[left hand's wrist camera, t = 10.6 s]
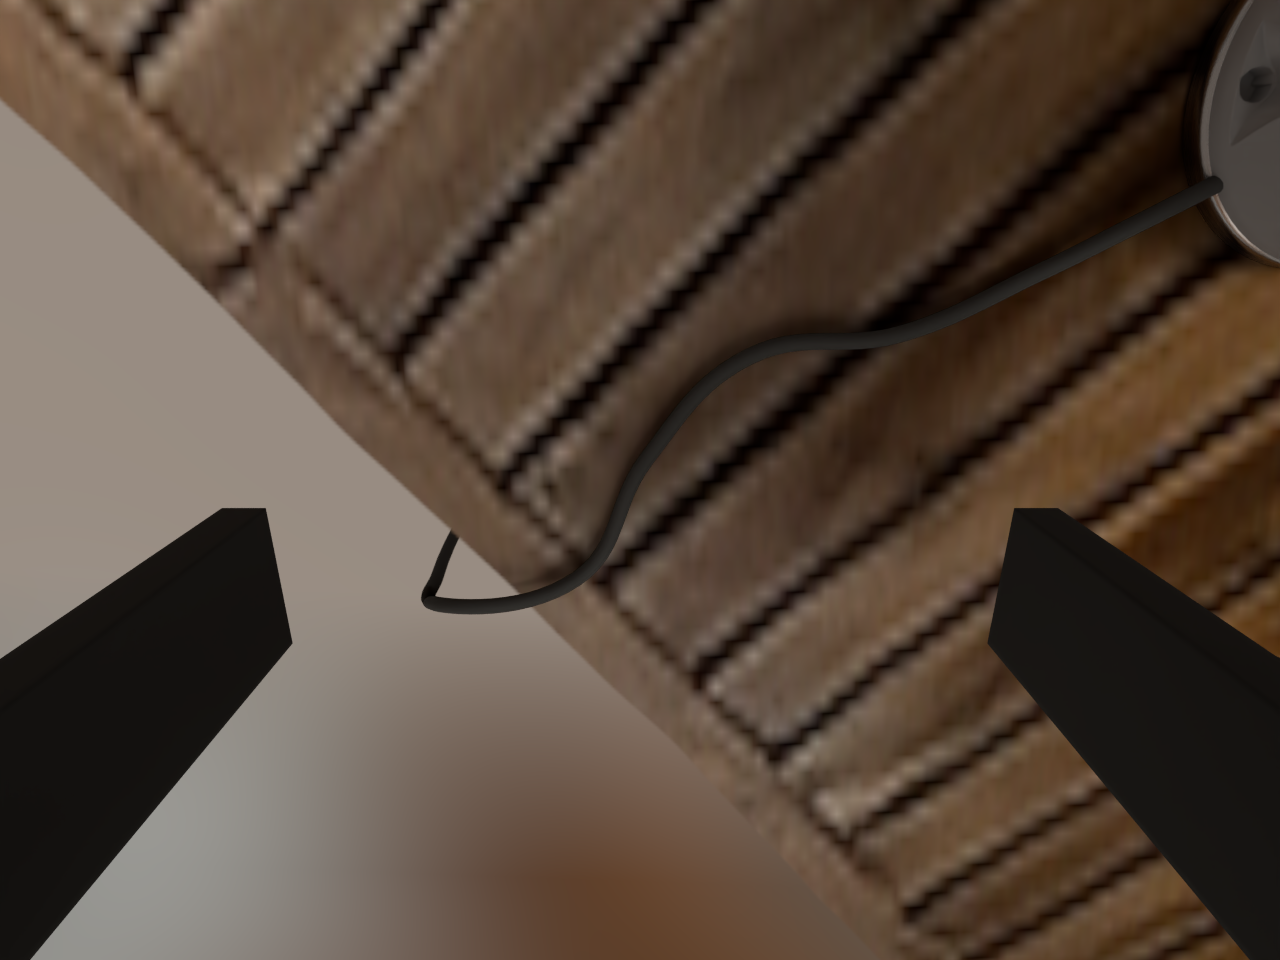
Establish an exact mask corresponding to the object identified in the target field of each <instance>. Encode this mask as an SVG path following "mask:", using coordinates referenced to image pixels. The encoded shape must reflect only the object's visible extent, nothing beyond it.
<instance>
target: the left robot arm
mask: <svg viewBox="0 0 1280 960" xmlns="http://www.w3.org/2000/svg"><path fill="white" fill-rule="evenodd" d="M1183 153H1184V164H1185V170H1186V175H1187V180H1188V184H1189V188H1187V189H1185V190H1183V191H1181V192H1179V193H1177V194H1175V195H1173V196H1171V197H1169V198H1167V199H1165V200H1163V201H1161V202H1159V203H1158V204H1156V205H1154V206H1152V207H1150V208H1148V209H1146V210H1144V211H1142V212H1140V213H1138V214H1136V215H1134V216H1132V217H1130V218H1128V219H1126V220H1124V221H1122V222H1120V223H1118V224H1116V225H1114V226H1112V227H1110V228H1108V229H1106V230H1104V231H1102V232H1100V233H1098V234H1097V235H1095V236H1093V237H1091V238H1089V239H1087V240H1085V241H1083V242H1081V243H1079V244H1077V245H1075V246H1073V247H1071V248H1069V249H1067V250H1065V251H1063V252H1061V253H1059V254H1057V255H1055V256H1053V257H1051V258H1049V259H1047V260H1044V261H1042V262H1040V263H1038V264H1036V265H1034V266H1032V267H1030V268H1028V269H1026V270H1024V271H1022V272H1020V273H1018V274H1016V275H1014V276H1012V277H1010V278H1008V279H1006V280H1004V281H1002V282H1000V283H998V284H996V285H994V286H992V287H990V288H988V289H986V290H984V291H982V292H980V293H978V294H976V295H974V296H972V297H970V298H968V299H966V300H964V301H962V302H960V303H958V304H956V305H954V306H951V307H949V308H947V309H944V310H942V311H940V312H937V313H935V314H932V315H930V316H927V317H924V318H921V319H919V320H916V321H913V322H910V323H907V324H903V325H900V326H896V327H892V328H888V329H884V330H878V331H871V332H860V333H810V334H797V335H789V336H783V337H779V338H774V339H771V340H767V341H764V342H761V343H758V344H756V345H754V346H752V347H750V348H747V349H745V350H743V351H741V352H740V353H738V354H736V355H734V356H732V357H731V358H729V359H728V360H726V361H725V362H723V363H721V364H720V365H719V366H717V367H716V368H715V369H713V370H712V371H711V372H709V373H708V374H707V375H706V376H705V377H704V378H702V379H701V380H700V381H699V382H698V383H697V384H696V385H695V386H694V387H693V388H692V389H691V390H690V391H689V392H688V393H687V395H686V396H685V397H684V398H683V399H682V400H681V402H680V403H679V404H678V405H677V406H676V408H675V409H674V410H673V411H672V413H671V414H670V415H669V417H668V418H667V419H666V421H665V422H664V423H663V425H662V426H661V427H660V429H659V430H658V432H657V433H656V434H655V436H654V437H653V438H652V440H651V441H650V442H649V444H648V445H647V446H646V448H645V449H644V450H643V452H642V453H641V454H640V456H639V457H638V459H637V460H636V462H635V463H634V465H633V466H632V468H631V470H630V472H629V473H628V475H627V477H626V479H625V481H624V483H623V485H622V488H621V490H620V493H619V495H618V498H617V500H616V503H615V506H614V508H613V511H612V514H611V517H610V520H609V522H608V525H607V527H606V530H605V532H604V535H603V537H602V539H601V541H600V543H599V544H598V546H597V548H596V550H595V551H594V552H593V554H592V555H591V556H590V558H589V559H588V560H587V561H586V562H585V563H584V564H583V565H582V566H580V567H579V568H578V569H577V570H575V571H574V572H573V573H571V574H570V575H568V576H566V577H565V578H563V579H561V580H559V581H557V582H555V583H553V584H551V585H548V586H546V587H543V588H541V589H538V590H535V591H531V592H528V593H524V594H519V595H514V596H508V597H502V598H492V599H452V598H442V597H436V593H437V591H438V590H439V588H440V586H441V584H442V581H443V578H444V575H445V572H446V569H447V566H448V563H449V560H450V558H451V555H452V553H453V550H454V548H455V546H456V544H457V542H458V539H459V537H458V536H457V535H456V534H454V532H453V531H451V530H450V532H449V534H448V536H447V538H446V540H445V542H444V544H443V546H442V548H441V551H440V553H439V555H438V557H437V560H436V563H435V565H434V568H433V571H432V574H431V576H430V578H429V580H428V582H427V583H426V585H425V587H424V589H423V591H422V595H421V601H422V603H423V605H424V606H425V607H426V608H428V609H430V610H433V611H437V612H443V613H452V614H492V613H501V612H509V611H515V610H520V609H525V608H529V607H533V606H536V605H539V604H543V603H545V602H548V601H551V600H553V599H556V598H558V597H560V596H562V595H564V594H566V593H568V592H570V591H572V590H573V589H575V588H576V587H578V586H580V585H581V584H582V583H584V582H585V581H586V580H588V579H589V578H590V577H591V576H592V575H593V574H594V573H595V572H596V571H597V570H598V569H599V568H600V567H601V566H602V565H603V563H604V562H605V561H606V559H607V558H608V556H609V554H610V553H611V551H612V549H613V547H614V545H615V543H616V541H617V539H618V537H619V534H620V532H621V529H622V526H623V524H624V521H625V518H626V516H627V513H628V510H629V507H630V505H631V502H632V500H633V497H634V495H635V493H636V491H637V489H638V487H639V485H640V483H641V481H642V479H643V478H644V476H645V474H646V473H647V471H648V470H649V468H650V467H651V466H652V464H653V463H654V461H655V460H656V459H657V457H658V456H659V455H660V454H661V452H662V451H663V450H664V448H665V447H666V446H667V444H668V443H669V442H670V440H671V439H672V437H673V436H674V435H675V433H676V432H677V431H678V429H679V428H680V427H681V426H682V424H683V423H684V422H685V420H686V419H687V418H688V417H689V415H690V414H691V413H692V412H693V411H694V409H695V408H696V407H697V406H698V405H699V404H700V403H701V402H702V401H703V400H704V399H705V398H706V397H707V396H708V395H709V394H710V393H711V392H712V391H713V390H714V389H715V388H717V387H718V386H719V385H720V384H722V383H723V382H724V381H726V380H727V379H728V378H730V377H731V376H733V375H734V374H736V373H737V372H739V371H741V370H743V369H744V368H746V367H748V366H750V365H752V364H754V363H756V362H758V361H761V360H763V359H765V358H768V357H771V356H774V355H778V354H782V353H787V352H794V351H802V350H849V349H867V348H876V347H882V346H888V345H893V344H897V343H901V342H905V341H908V340H911V339H914V338H917V337H920V336H923V335H926V334H929V333H932V332H934V331H937V330H940V329H942V328H945V327H947V326H950V325H952V324H954V323H957V322H959V321H961V320H963V319H966V318H968V317H970V316H972V315H974V314H976V313H978V312H980V311H982V310H984V309H986V308H988V307H990V306H992V305H994V304H996V303H998V302H1000V301H1002V300H1004V299H1006V298H1008V297H1010V296H1012V295H1014V294H1016V293H1018V292H1020V291H1022V290H1024V289H1026V288H1028V287H1030V286H1032V285H1034V284H1036V283H1038V282H1040V281H1042V280H1044V279H1047V278H1049V277H1051V276H1053V275H1055V274H1057V273H1059V272H1061V271H1063V270H1065V269H1068V268H1070V267H1072V266H1074V265H1076V264H1078V263H1080V262H1082V261H1084V260H1086V259H1088V258H1090V257H1092V256H1094V255H1096V254H1098V253H1100V252H1102V251H1104V250H1106V249H1108V248H1110V247H1112V246H1114V245H1116V244H1118V243H1120V242H1122V241H1124V240H1126V239H1128V238H1130V237H1132V236H1134V235H1136V234H1138V233H1140V232H1142V231H1144V230H1146V229H1148V228H1150V227H1152V226H1154V225H1156V224H1158V223H1160V222H1162V221H1164V220H1166V219H1168V218H1170V217H1172V216H1174V215H1176V214H1178V213H1180V212H1182V211H1184V210H1186V209H1188V208H1190V207H1192V206H1194V205H1197V208H1198V210H1199V211H1200V213H1201V215H1202V216H1203V218H1204V220H1205V221H1206V223H1207V224H1208V225H1209V226H1210V228H1211V229H1212V230H1213V232H1214V233H1215V234H1216V235H1217V236H1218V237H1219V238H1220V239H1221V240H1222V241H1223V242H1224V243H1226V244H1227V245H1228V246H1230V247H1231V248H1232V249H1234V250H1235V251H1237V252H1239V253H1240V254H1242V255H1244V256H1246V257H1247V258H1250V259H1252V260H1255V261H1257V262H1259V263H1263V264H1266V265H1270V266H1274V267H1279V268H1280V0H1232V1H1231V2H1230V4H1229V5H1228V7H1227V8H1226V10H1225V11H1224V13H1223V14H1222V16H1221V18H1220V19H1219V21H1218V23H1217V25H1216V26H1215V28H1214V30H1213V32H1212V34H1211V36H1210V37H1209V40H1208V42H1207V44H1206V46H1205V48H1204V51H1203V53H1202V55H1201V57H1200V60H1199V63H1198V66H1197V68H1196V71H1195V74H1194V77H1193V80H1192V84H1191V88H1190V91H1189V95H1188V100H1187V106H1186V111H1185V119H1184V129H1183ZM291 644H292V638H291V633H290V628H289V623H288V618H287V613H286V608H285V603H284V598H283V593H282V588H281V583H280V578H279V573H278V568H277V563H276V558H275V553H274V548H273V542H272V537H271V532H270V527H269V522H268V517H267V512H266V508H222V509H220V510H219V511H217V512H216V513H214V514H213V515H211V516H210V517H208V518H207V519H205V520H204V521H202V522H201V523H200V524H198V525H197V526H195V527H194V528H192V529H191V530H189V531H188V532H186V533H185V534H183V535H182V536H180V537H179V538H178V539H176V540H175V541H173V542H172V543H170V544H169V545H167V546H166V547H164V548H163V549H161V550H160V551H158V552H157V553H155V554H154V555H153V556H151V557H149V558H148V559H147V560H145V561H144V562H142V563H141V564H139V565H138V566H136V567H135V568H133V569H132V570H130V571H129V572H127V573H126V574H124V575H123V576H122V577H120V578H119V579H117V580H116V581H114V582H113V583H111V584H110V585H108V586H107V587H105V588H104V589H102V590H101V591H99V592H98V593H97V594H95V595H94V596H92V597H91V598H89V599H88V600H86V601H85V602H83V603H82V604H80V605H79V606H77V607H76V608H74V609H73V610H72V611H70V612H69V613H67V614H66V615H64V616H63V617H61V618H60V619H58V620H57V621H55V622H54V623H52V624H51V625H49V626H48V627H46V628H45V629H44V630H42V631H41V632H39V633H38V634H36V635H35V636H33V637H32V638H30V639H29V640H27V641H26V642H24V643H23V644H21V645H20V646H19V647H17V648H16V649H14V650H13V651H11V652H10V653H8V654H7V655H5V656H4V657H2V658H1V659H0V960H30V959H31V958H32V957H33V956H34V954H35V953H36V952H37V951H38V950H39V948H40V947H41V946H42V945H43V944H44V942H45V941H46V940H47V939H48V938H49V936H50V935H51V934H52V933H53V931H54V930H55V929H56V928H57V927H58V926H59V924H60V923H61V922H62V921H63V920H64V918H65V917H66V916H67V915H68V913H69V912H70V911H71V910H72V909H73V907H74V906H75V905H76V904H77V903H78V901H79V900H80V899H81V898H82V897H83V895H84V894H85V893H86V892H87V890H88V889H89V888H90V887H91V886H92V884H93V883H94V882H95V881H96V880H97V879H98V877H99V876H100V875H101V874H102V872H103V871H104V870H105V869H106V868H107V866H108V865H109V864H110V863H111V862H112V860H113V859H114V858H115V857H116V856H117V854H118V853H119V852H120V851H121V850H122V848H123V847H124V846H125V845H126V843H127V842H128V841H129V840H130V839H131V838H132V836H133V835H134V834H135V833H136V831H137V830H138V829H139V828H140V827H141V825H142V824H143V823H144V822H145V821H146V819H147V818H148V817H149V816H150V815H151V813H152V812H153V811H154V810H155V809H156V807H157V806H158V805H159V804H160V802H161V801H162V800H163V799H164V798H165V796H166V795H167V794H168V793H169V792H170V790H171V789H172V788H173V787H174V786H175V784H176V783H177V782H178V781H179V780H180V778H181V777H182V776H183V775H184V774H185V772H186V771H187V770H188V769H189V768H190V766H191V765H192V764H193V763H194V762H195V760H196V759H197V758H198V757H199V755H200V754H201V753H202V752H203V751H204V749H205V748H206V747H207V746H208V745H209V743H210V742H211V741H212V740H213V739H214V737H215V736H216V735H217V734H218V733H219V731H220V730H221V729H222V728H223V727H224V725H225V724H226V723H227V722H228V721H229V719H230V718H231V717H232V716H233V714H234V713H235V712H236V711H237V710H238V708H239V707H240V706H241V705H242V704H243V702H244V701H245V700H246V699H247V698H248V696H249V695H250V694H251V693H252V692H253V690H254V689H255V688H256V687H257V686H258V684H259V683H260V682H261V681H262V679H263V678H264V677H265V676H266V675H267V673H268V672H269V671H270V670H271V669H272V667H273V666H274V665H275V664H276V663H277V661H278V660H279V659H280V658H281V657H282V655H283V654H284V653H285V652H286V651H287V649H288V648H289V647H290V646H291ZM988 645H989V646H990V647H991V648H992V649H993V651H994V652H995V653H996V654H997V655H998V657H999V658H1000V659H1001V660H1002V661H1003V663H1004V664H1005V665H1006V666H1007V667H1008V669H1009V670H1010V671H1011V672H1012V673H1013V675H1014V676H1015V677H1016V678H1017V680H1018V681H1019V682H1020V683H1021V684H1022V686H1023V687H1024V688H1025V689H1026V690H1027V692H1028V693H1029V694H1030V695H1031V696H1032V698H1033V699H1034V700H1035V701H1036V702H1037V704H1038V705H1039V706H1040V707H1041V708H1042V710H1043V711H1044V712H1045V713H1046V714H1047V716H1048V717H1049V718H1050V719H1051V721H1052V722H1053V723H1054V724H1055V725H1056V727H1057V728H1058V729H1059V730H1060V731H1061V733H1062V734H1063V735H1064V736H1065V737H1066V739H1067V740H1068V741H1069V742H1070V743H1071V745H1072V746H1073V747H1074V748H1075V749H1076V751H1077V752H1078V753H1079V754H1080V755H1081V757H1082V758H1083V759H1084V760H1085V762H1086V763H1087V764H1088V765H1089V766H1090V768H1091V769H1092V770H1093V771H1094V772H1095V774H1096V775H1097V776H1098V777H1099V778H1100V780H1101V781H1102V782H1103V783H1104V784H1105V786H1106V787H1107V788H1108V789H1109V790H1110V792H1111V793H1112V794H1113V795H1114V797H1115V798H1116V799H1117V800H1118V801H1119V803H1120V804H1121V805H1122V806H1123V807H1124V809H1125V810H1126V811H1127V812H1128V813H1129V815H1130V816H1131V817H1132V818H1133V819H1134V821H1135V822H1136V823H1137V824H1138V825H1139V827H1140V828H1141V829H1142V830H1143V831H1144V833H1145V834H1146V835H1147V836H1148V838H1149V839H1150V840H1151V841H1152V842H1153V844H1154V845H1155V846H1156V847H1157V848H1158V850H1159V851H1160V852H1161V853H1162V854H1163V856H1164V857H1165V858H1166V859H1167V860H1168V862H1169V863H1170V864H1171V865H1172V866H1173V868H1174V869H1175V870H1176V871H1177V872H1178V874H1179V875H1180V876H1181V877H1182V879H1183V880H1184V881H1185V882H1186V883H1187V885H1188V886H1189V887H1190V888H1191V889H1192V891H1193V892H1194V893H1195V894H1196V895H1197V897H1198V898H1199V899H1200V900H1201V901H1202V903H1203V904H1204V905H1205V906H1206V907H1207V909H1208V910H1209V911H1210V912H1211V913H1212V915H1213V916H1214V917H1215V918H1216V920H1217V921H1218V922H1219V923H1220V924H1221V926H1222V927H1223V928H1224V929H1225V930H1226V932H1227V933H1228V934H1229V935H1230V936H1231V938H1232V939H1233V940H1234V941H1235V942H1236V944H1237V945H1238V946H1239V947H1240V948H1241V950H1242V951H1243V952H1244V953H1245V955H1246V956H1247V957H1248V958H1249V959H1250V960H1280V658H1279V657H1277V656H1275V655H1273V654H1272V653H1270V652H1269V651H1267V650H1266V649H1264V648H1263V647H1261V646H1260V645H1259V644H1257V643H1256V642H1254V641H1253V640H1251V639H1250V638H1248V637H1247V636H1245V635H1244V634H1242V633H1241V632H1239V631H1238V630H1236V629H1235V628H1234V627H1232V626H1231V625H1229V624H1228V623H1226V622H1225V621H1223V620H1222V619H1220V618H1219V617H1217V616H1216V615H1214V614H1213V613H1211V612H1210V611H1209V610H1207V609H1206V608H1204V607H1203V606H1201V605H1200V604H1198V603H1197V602H1195V601H1194V600H1192V599H1191V598H1189V597H1188V596H1186V595H1185V594H1183V593H1182V592H1181V591H1179V590H1178V589H1176V588H1175V587H1173V586H1172V585H1170V584H1169V583H1167V582H1166V581H1164V580H1163V579H1161V578H1160V577H1158V576H1157V575H1156V574H1154V573H1153V572H1151V571H1150V570H1148V569H1147V568H1145V567H1144V566H1142V565H1141V564H1139V563H1138V562H1136V561H1135V560H1133V559H1132V558H1131V557H1129V556H1128V555H1126V554H1125V553H1123V552H1122V551H1120V550H1119V549H1117V548H1116V547H1114V546H1113V545H1111V544H1110V543H1108V542H1107V541H1105V540H1104V539H1103V538H1101V537H1100V536H1098V535H1097V534H1095V533H1094V532H1092V531H1091V530H1089V529H1088V528H1086V527H1085V526H1083V525H1082V524H1080V523H1079V522H1078V521H1076V520H1075V519H1073V518H1072V517H1070V516H1069V515H1067V514H1066V513H1064V512H1063V511H1061V510H1060V509H1058V508H1014V512H1013V517H1012V522H1011V527H1010V532H1009V537H1008V542H1007V548H1006V553H1005V558H1004V563H1003V568H1002V573H1001V578H1000V583H999V588H998V593H997V598H996V603H995V608H994V613H993V618H992V623H991V628H990V633H989V638H988Z"/></svg>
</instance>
